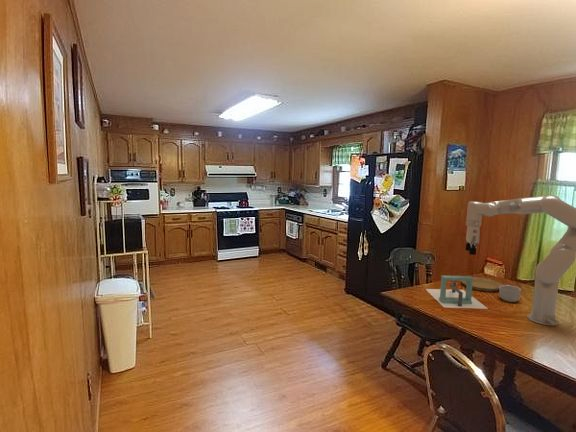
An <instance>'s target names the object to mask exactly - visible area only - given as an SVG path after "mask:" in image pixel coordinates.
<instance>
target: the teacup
mask: <svg viewBox="0 0 576 432" xmlns="http://www.w3.org/2000/svg"><path fill="white" fill-rule="evenodd" d="M498 291H499V292H498V293H499V294H498V295H499V297H500V299H502V300H503V301H505V302H509V303H516V302H518V301H520V299H521V291H522V288H520V287H518V286H515V285H510V284H506V285H505V284H502V286H500V287H499V290H498Z"/></svg>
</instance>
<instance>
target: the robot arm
mask: <svg viewBox="0 0 576 432" xmlns="http://www.w3.org/2000/svg"><path fill="white" fill-rule="evenodd" d="M466 211H467V212H466V221H465V226H467V229H466V235H465V240H466V243H465V251H466V252H467V251H468V252H469V255H471V256H472V255H473V256H476V255H477V247H478V245H479V243H480V233H481V231H480V229H481V228H480V227H481V226H482V219H483V216H485V217H493V216H495V215H503V214H504V215H505V214H517V215H531V214H532V215H533V214H544V213H545V214H547V215H548V216H550V217H552V218H553V219H555V220H557V221H558V222H560V223H562V224H563V225H565V226H567V227H568V228H567V230H566V232H565V233H564V234H563V235H562V236H561V238H560V239H559V240H558V242H557V243H555V245H554V246H552V248H551V249H550V251H549V254H548V255H547V256H546V257H545V259H543V260H541V261H540V262H538V264H537V265H536V267H535V278H534V288H533V295H532V296H533V297H532V305H531V313H529V314H527V319H528V320H529V321H531V322H533V323H536V324H539V325H543V326H557V325H558V324H559V320H558V319H557V316H556V310H557V300H558V292H559V282H560V279H561V278H562V277H563V276H564V274H566V273H567V272H568V271H569V269H570V268H571V267H572V266H573V264H574V262H575V261H576V207H574V206H572V205H571V204H569V203H567V202H566V201H564V200H562V199H561V198H560V197H559V196H557V195H554V194H553V195H552V194H551V195H550V194H549V195H539V196H529V197H521V198H520V197H519V198H514V199H506V200H505V199H504V200H497V201H496V200H495V201H489V202H481V201H474V200H471V201H469V202H468V204H467V210H466Z"/></svg>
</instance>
